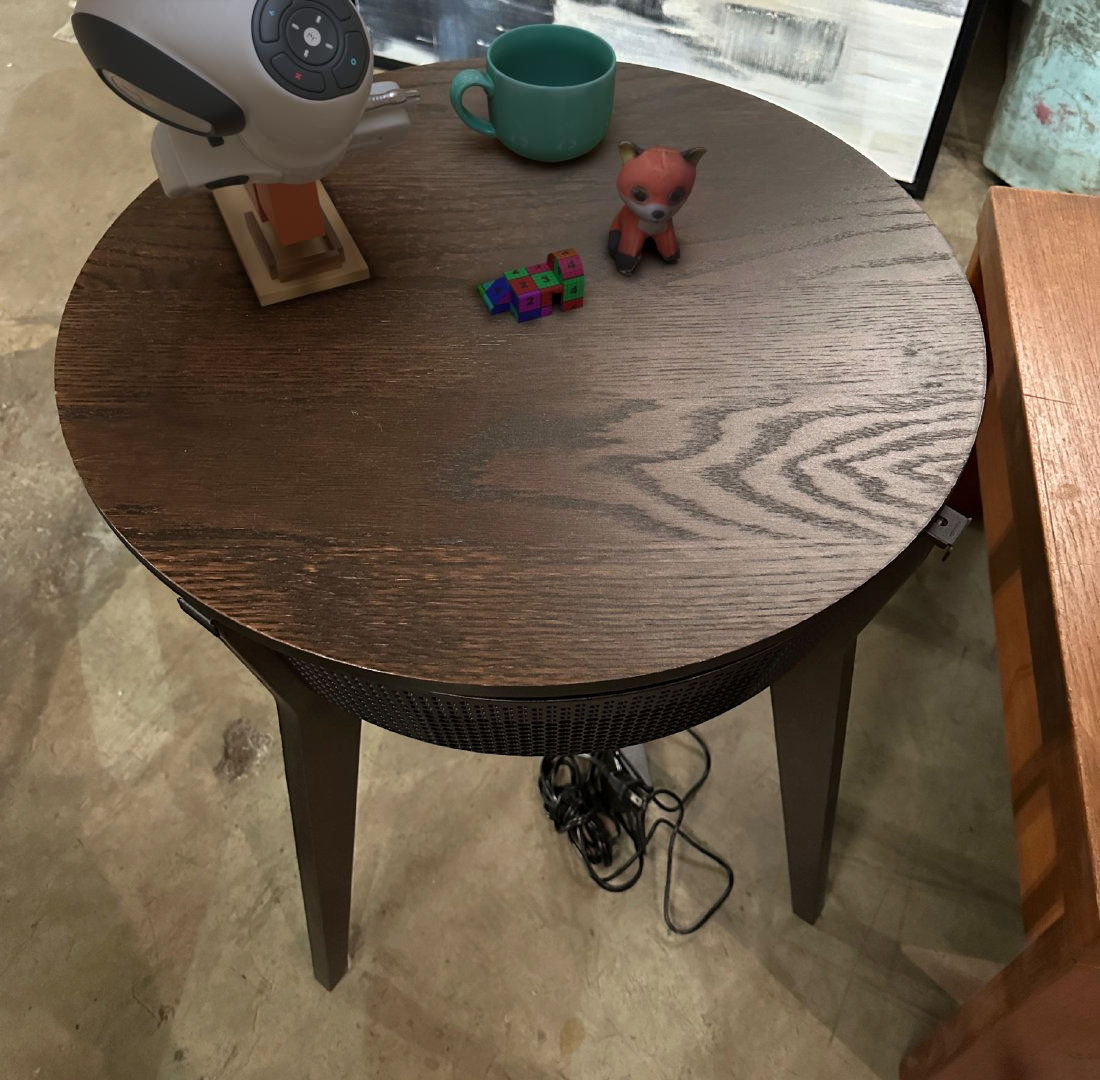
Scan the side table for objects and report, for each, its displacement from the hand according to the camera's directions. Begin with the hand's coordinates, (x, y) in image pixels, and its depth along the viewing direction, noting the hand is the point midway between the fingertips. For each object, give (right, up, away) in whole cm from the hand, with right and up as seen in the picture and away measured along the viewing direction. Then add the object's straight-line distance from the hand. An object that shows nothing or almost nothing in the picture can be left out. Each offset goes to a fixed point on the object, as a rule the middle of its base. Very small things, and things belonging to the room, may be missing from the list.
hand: (279, 166), depth 88 cm
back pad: (0, -3, +4) cm, 5 cm away
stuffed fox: (+32, -4, +9) cm, 34 cm away
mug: (+21, +9, +19) cm, 30 cm away
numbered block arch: (+21, -11, +4) cm, 24 cm away
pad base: (-1, -4, +8) cm, 9 cm away
